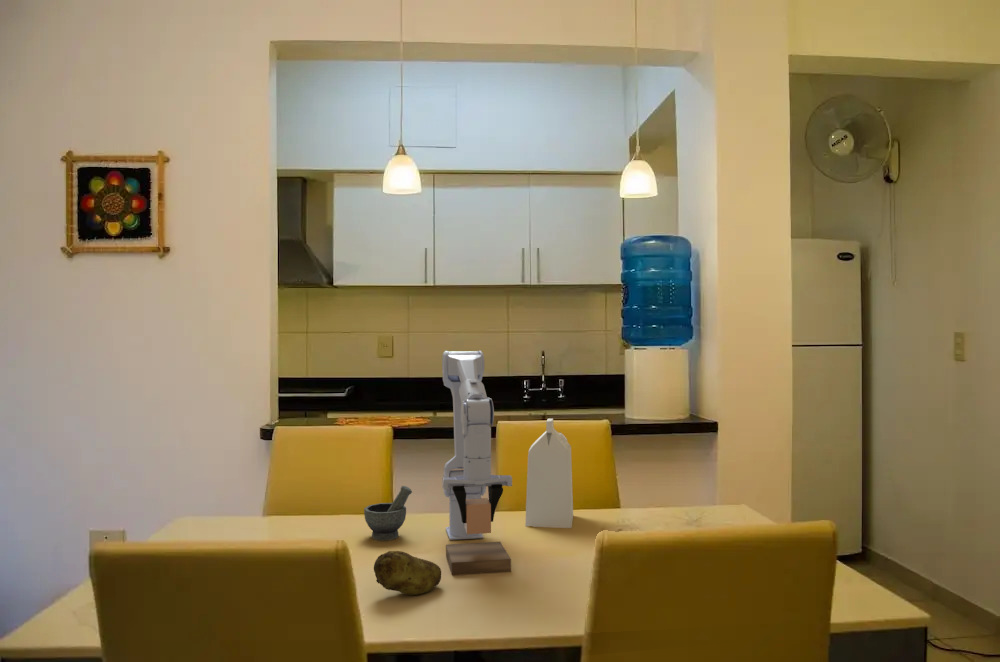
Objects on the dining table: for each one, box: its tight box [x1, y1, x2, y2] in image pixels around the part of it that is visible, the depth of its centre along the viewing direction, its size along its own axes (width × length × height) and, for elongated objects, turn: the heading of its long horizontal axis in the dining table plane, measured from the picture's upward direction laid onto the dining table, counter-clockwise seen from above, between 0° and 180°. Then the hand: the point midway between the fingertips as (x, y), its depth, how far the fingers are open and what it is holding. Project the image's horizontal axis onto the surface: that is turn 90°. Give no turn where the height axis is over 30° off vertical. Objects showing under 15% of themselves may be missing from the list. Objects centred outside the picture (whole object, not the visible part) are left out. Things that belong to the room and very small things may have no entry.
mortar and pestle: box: [363, 485, 413, 542], centre depth 166 cm, size 11×9×12 cm
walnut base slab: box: [445, 541, 512, 576], centre depth 146 cm, size 12×12×2 cm
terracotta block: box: [464, 497, 492, 534], centre depth 146 cm, size 5×5×6 cm
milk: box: [524, 418, 574, 529], centre depth 180 cm, size 12×12×26 cm
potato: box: [373, 550, 442, 596], centre depth 130 cm, size 8×13×8 cm, turn 103°
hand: (477, 521), depth 146 cm, fingers closed on terracotta block, 5 cm apart
